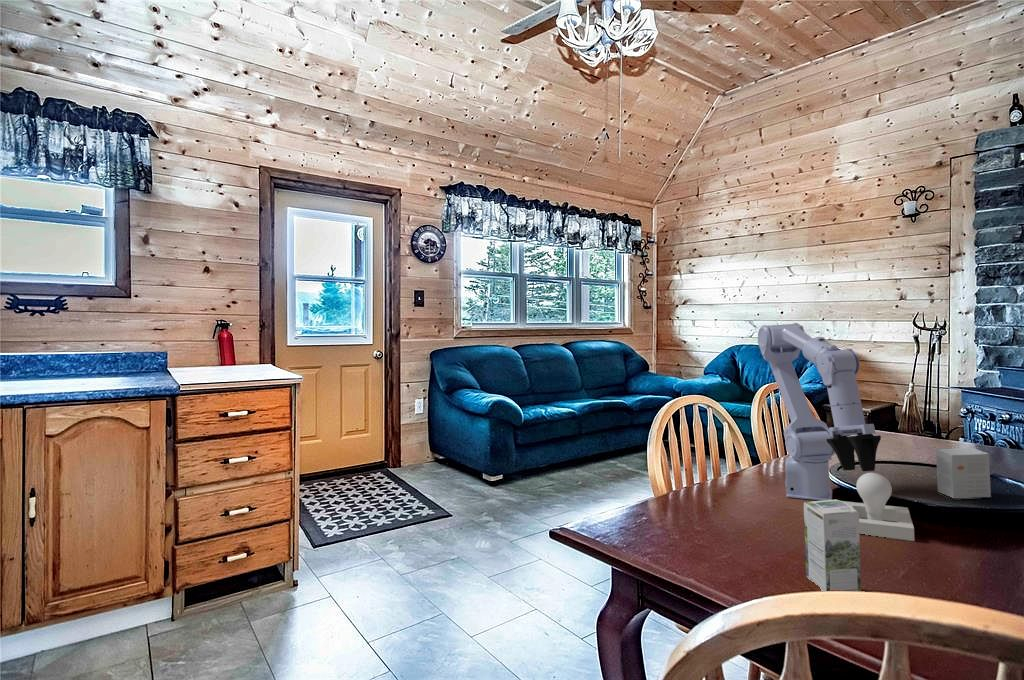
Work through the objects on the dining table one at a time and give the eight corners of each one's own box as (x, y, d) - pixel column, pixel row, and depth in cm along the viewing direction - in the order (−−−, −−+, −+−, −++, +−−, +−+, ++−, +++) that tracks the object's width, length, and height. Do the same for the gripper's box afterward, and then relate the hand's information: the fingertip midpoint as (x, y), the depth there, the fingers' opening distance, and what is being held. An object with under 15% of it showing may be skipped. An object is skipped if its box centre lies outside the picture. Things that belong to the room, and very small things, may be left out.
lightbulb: (882, 534, 109) (880, 479, 109) (851, 524, 115) (849, 472, 114) (899, 526, 112) (897, 473, 112) (868, 518, 118) (866, 467, 117)
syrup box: (839, 582, 92) (835, 497, 91) (863, 600, 86) (859, 509, 86) (805, 585, 92) (801, 500, 91) (827, 604, 86) (823, 512, 85)
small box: (973, 491, 129) (971, 447, 128) (991, 499, 123) (990, 453, 123) (936, 492, 130) (935, 448, 129) (953, 500, 124) (951, 454, 124)
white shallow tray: (841, 532, 112) (840, 520, 111) (841, 512, 122) (841, 501, 122) (914, 541, 105) (913, 528, 105) (908, 519, 116) (907, 507, 115)
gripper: (811, 409, 125) (822, 470, 122) (843, 403, 111) (857, 472, 108) (843, 407, 125) (855, 468, 122) (880, 401, 110) (894, 470, 108)
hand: (858, 470), depth 115 cm, fingers open, 7 cm apart
